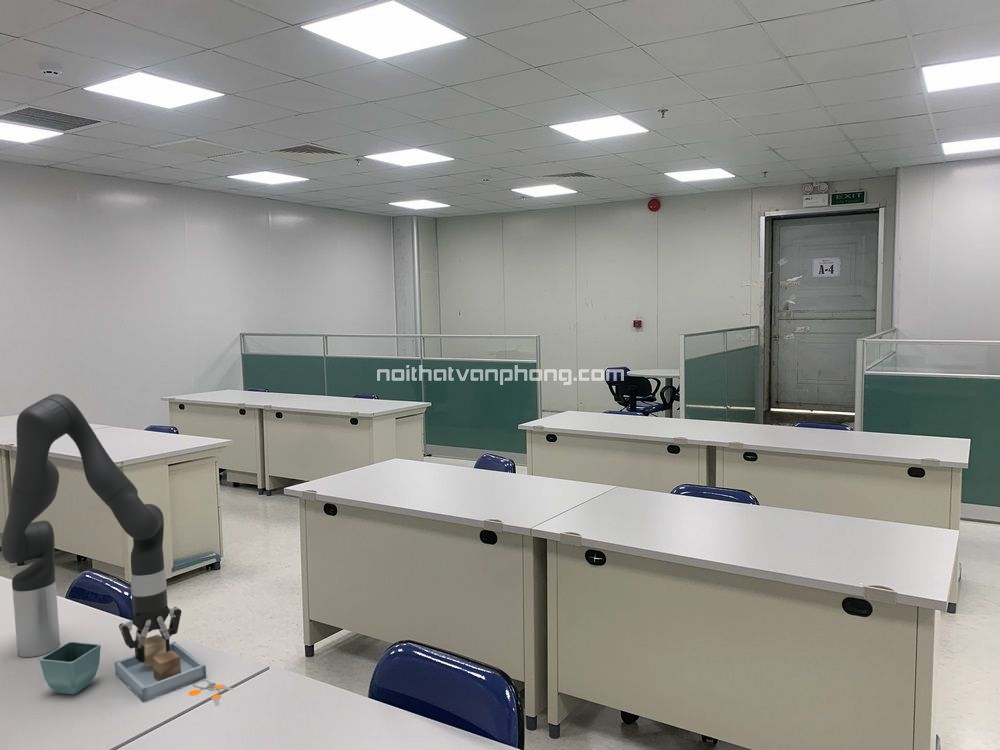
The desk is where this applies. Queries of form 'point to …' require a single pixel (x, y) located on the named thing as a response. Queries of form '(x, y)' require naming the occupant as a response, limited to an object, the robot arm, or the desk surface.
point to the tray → (148, 687)
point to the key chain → (218, 687)
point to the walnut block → (166, 665)
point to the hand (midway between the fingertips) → (153, 656)
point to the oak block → (153, 648)
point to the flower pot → (71, 667)
